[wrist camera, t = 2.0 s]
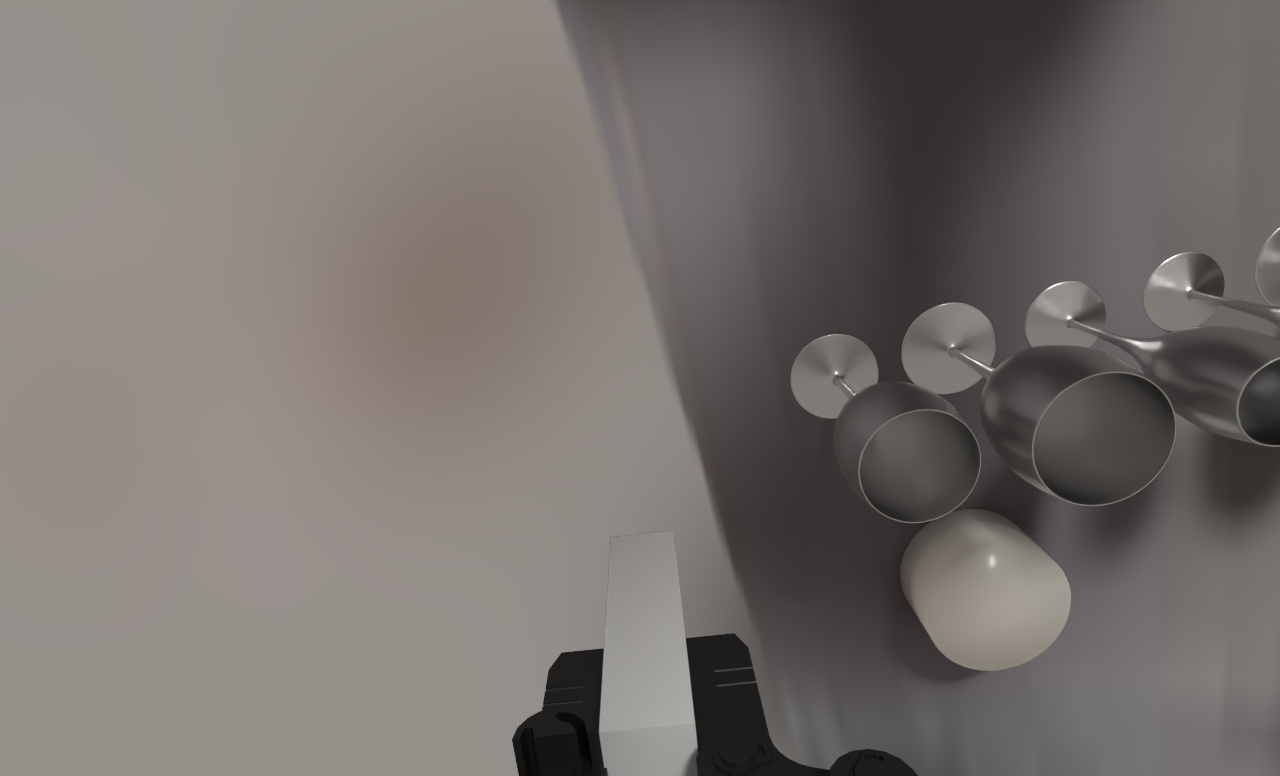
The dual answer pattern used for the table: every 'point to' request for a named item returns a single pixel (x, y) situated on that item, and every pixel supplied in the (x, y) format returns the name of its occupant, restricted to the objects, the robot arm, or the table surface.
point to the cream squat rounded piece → (984, 590)
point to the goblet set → (1049, 392)
